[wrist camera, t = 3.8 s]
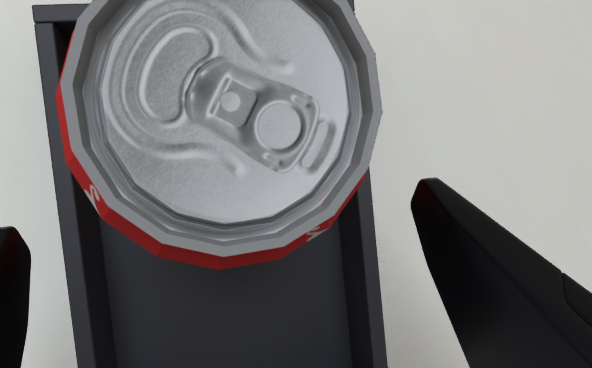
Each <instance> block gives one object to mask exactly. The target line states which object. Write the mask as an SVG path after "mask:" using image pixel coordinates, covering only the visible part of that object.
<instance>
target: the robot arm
mask: <svg viewBox="0 0 592 368" xmlns="http://www.w3.org/2000/svg"><path fill="white" fill-rule="evenodd" d="M411 210H412V214H413V218H414V221H415V225H416V228H417V232H418V235H419V239H420V242H421V246H422V249H423V253H424V256H425V259H426V262H427V265H428V268H429V270H430V273H431V275H432V278H433V280H434V282H435V285H436V287H437V290H438V292H439V295H440V297H441V299H442V302H443V304H444V307H445V309H446V311H447V314H448V316H449V319H450V321H451V323H452V326H453V328H454V331H455V333H456V336H457V338H458V340H459V343H460V345H461V348H462V350H463V352H464V355H465V357H466V360H467V362H468V364H469V367H470V368H592V293H591V292H589V291H588V290H587V289H585V288H584V287H582V286H581V285H580V284H578V283H577V282H576V281H574V280H573V279H572V278H570V277H569V276H568V275H566V274H565V273H561V270H560V269H558V268H557V267H556V266H554V265H553V264H552V263H550V262H549V261H548V260H546V259H545V258H544V257H542V256H541V255H540V254H538V253H537V252H536V251H534V250H533V249H532V248H530V247H529V246H528V245H526V244H525V243H524V242H522V241H521V240H520V239H518V238H517V237H516V236H514V235H513V234H512V233H510V232H509V231H508V230H506V229H505V228H504V227H502V226H501V225H500V224H498V223H497V222H496V221H494V220H493V219H492V218H490V217H489V216H488V215H486V214H485V213H484V212H482V211H481V210H480V209H478V208H477V207H476V206H474V205H473V204H472V203H470V202H469V201H468V200H466V199H465V198H464V197H462V196H461V195H460V194H458V193H457V192H456V191H454V190H453V189H452V188H450V187H449V186H448V185H446V184H445V183H444V182H442V181H441V180H440V179H438V178H426V179H421V180H420V181H419V182H418V185H417V187H416V190H415V192H414V195H413V197H412V200H411ZM30 270H31V254H30V250H29V248H28V246H27V245H26V243H25V241H24V240H23V238H22V237H21V235H20V234H19V232H18V231H17V229H16V228H14V227H12V226H8V227H0V368H21V362H22V356H23V351H24V345H25V340H26V333H27V326H28V314H29V292H30Z"/></svg>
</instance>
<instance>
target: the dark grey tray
mask: <svg viewBox="0 0 592 368" xmlns="http://www.w3.org/2000/svg"><path fill="white" fill-rule="evenodd" d="M347 1H348V3H349V5H350V7H351V9H352V11H353V13H354V11H355V9H354V0H347ZM88 6H89V4H55V5H33V6H32V11H33V19H34V22H35V23H36V24H35V25H34V27H35V35H36V42H37V50H38V58H39V66H40V74H41V82H42V90H43V97H44V105H45V113H46V121H47V129H48V137H49V145H50V153H51V160H52V168H53V176H54V184H55V192H56V200H57V208H58V215H59V223H60V231H61V239H62V247H63V255H64V263H65V271H66V278H67V286H68V294H69V302H70V310H71V318H72V326H73V333H74V341H75V349H76V357H77V365H78V368H388V367H387V356H386V345H385V334H384V323H383V313H382V302H381V291H380V280H379V269H378V258H377V247H376V237H375V226H374V215H373V204H372V193H371V182H370V172H369V167H368V169H367V171H366V174H365V178H364V181H363V182H362V184H361V185H360V186H359V188H358V189H357V191H356V192H355V193H354V195H353V196H352V198H351V199H350V200H349V202H348V203H347V204H346V206H345V207H344V209H343V210H342V211H341V213H340V214H339V216H338V217H337V218H336V220H335V221H334V222H333V224H332V225H331V227H330V228H328V229H327V230H325V231H324V232H322V233H320V234H319V235H317V236H316V237H314V238H312V239H311V240H309V241H308V242H306V243H305V244H303V245H301V246H300V247H298V248H297V249H295V250H293V251H292V252H290V253H289V254H287V255H285V256H284V257H282V258H281V259H278V260H272V261H267V262H261V263H255V264H250V265H244V266H239V267H233V268H227V269H222V270H217V269H212V268H208V267H203V266H198V265H193V264H189V263H184V262H179V261H175V260H170V259H165V258H161V257H157V256H155V255H154V254H152V253H151V252H149V251H148V250H146V249H145V248H143V247H142V246H140V245H139V244H137V243H136V242H135V241H133V240H132V239H130V238H129V237H127V236H126V235H124V234H123V233H121V232H120V231H118V230H117V229H115V228H114V227H113V226H111V225H110V224H108V223H107V222H105V221H104V220H102V218H101V217H100V215H99V214H98V212H97V210H96V209H95V207H94V206H93V204H92V203H91V201H90V200H89V198H88V197H87V195H86V193H85V192H84V190H83V189H82V187H81V186H80V184H79V183H78V181H77V180H76V178H75V176H74V175H73V173H72V172H71V170H70V169H69V167H68V166H67V164H66V160H65V154H64V148H63V142H62V136H61V130H60V124H59V118H58V112H57V106H56V100H55V95H56V92H57V88H58V84H59V80H60V77H61V73H62V69H63V65H64V62H65V58H66V54H67V51H68V47H69V43H70V39H71V36H72V32H73V31H74V30H75V26H76V22H77V19H78V18H79V16H80V15H81V14H82V13H83V12H84V10H85V9H86V8H87V7H88ZM354 15H355V13H354Z"/></svg>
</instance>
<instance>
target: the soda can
mask: <svg viewBox="0 0 592 368" xmlns="http://www.w3.org/2000/svg"><path fill="white" fill-rule="evenodd" d="M55 100H56V106H57V112H58V118H59V124H60V130H61V136H62V142H63V148H64V154H65V160H66V164H67V166H68V167H69V169H70V170H71V172H72V173H73V175H74V176H75V178H76V180H77V181H78V183H79V184H80V186H81V187H82V189H83V190H84V192H85V193H86V195H87V197H88V198H89V200H90V201H91V203H92V204H93V206H94V207H95V209H96V210H97V212H98V214H99V215H100V217H101V218H102V220H104V221H105V222H107V223H108V224H110V225H111V226H113V227H114V228H115V229H117V230H118V231H120V232H121V233H123V234H124V235H126V236H127V237H129V238H130V239H132V240H133V241H135V242H136V243H137V244H139V245H140V246H142V247H143V248H145V249H146V250H148V251H149V252H151V253H152V254H154V255H155V256H157V257H161V258H165V259H170V260H175V261H179V262H184V263H189V264H193V265H198V266H203V267H208V268H212V269H217V270H222V269H227V268H233V267H239V266H244V265H250V264H255V263H261V262H267V261H272V260H278V259H281V258H282V257H284V256H285V255H287V254H289V253H290V252H292V251H293V250H295V249H297V248H298V247H300V246H301V245H303V244H305V243H306V242H308V241H309V240H311V239H312V238H314V237H316V236H317V235H319V234H320V233H322V232H324V231H325V230H327V229H328V228H330V227H331V225H332V224H333V222H334V221H335V220H336V218H337V217H338V216H339V214H340V213H341V211H342V210H343V209H344V207H345V206H346V204H347V203H348V202H349V200H350V199H351V198H352V196H353V195H354V193H355V192H356V191H357V189H358V188H359V186H360V185H361V184H362V182H363V181H364V178H365V174H366V171H367V169H368V167H369V163H370V159H371V155H372V151H373V147H374V143H375V139H376V135H377V131H378V127H379V123H380V119H381V115H382V105H381V97H380V89H379V81H378V73H377V65H376V57H375V53H374V51H373V49H372V47H371V45H370V43H369V41H368V39H367V37H366V36H365V34H364V32H363V30H362V28H361V26H360V24H359V22H358V20H357V18H356V17H355V15H354V13H353V11H352V9H351V7H350V5H349V3H348V1H347V0H93V1H92V2H91V3H90V4H89V6H88V7H87V8H86V9H85V10H84V12H83V13H82V14H81V15H80V16H79V18H78V19H77V22H76V26H75V30H74V31H73V32H72V36H71V39H70V43H69V47H68V51H67V54H66V58H65V62H64V65H63V69H62V73H61V77H60V80H59V84H58V88H57V92H56V95H55Z"/></svg>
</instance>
